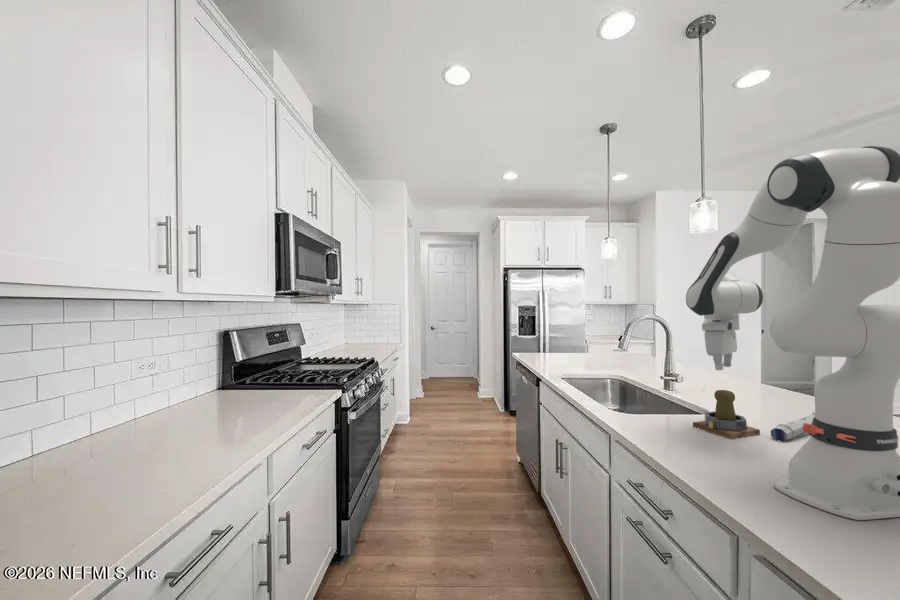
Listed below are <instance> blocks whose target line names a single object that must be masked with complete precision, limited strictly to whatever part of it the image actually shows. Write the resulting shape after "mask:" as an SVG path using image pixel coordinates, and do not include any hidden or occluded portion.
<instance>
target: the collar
mask: <svg viewBox="0 0 900 600" xmlns="http://www.w3.org/2000/svg"><path fill="white" fill-rule="evenodd" d="M715 411H716V410H715ZM715 411H709V412H708V411H707V412H704V421H705V423H706V425H707V426H709V428H712V429H714V428H715V429H719V430H725V431H734V432H739V431H745V430H747V426H748V425H747V419H746V418H745V417H744V416H743V415H739V414H736V413H735V415H736V420H734V421H733V420H724V419H718V418H715Z"/></svg>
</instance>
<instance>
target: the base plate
mask: <svg viewBox="0 0 900 600" xmlns="http://www.w3.org/2000/svg"><path fill="white" fill-rule="evenodd" d="M694 427H696V428H695V429H697V428H699V429H698V430H700V429H702V430H701V431H703V430H705V431H704V432H706V431H707V432H706V433H709V432H710V434H712V433H713V435H715V434H716V436H718V435H719V437H721V436H722V438H724V437H725V438H724V439H727V438H728V440H730V439H731V440H737V439H743V438H748V436H750V437H754V435H756V436H760V435H761V434H760V433H761V429H758V428H755V427H752V426H748V425H747V430H745V431H739V432H734V431H725V430H719V429H715V428H714V429H712V428H709V426H707V425H706V423H705V420H699V421H694V422H692V428H694ZM742 437H743V438H742ZM736 438H737V439H736Z"/></svg>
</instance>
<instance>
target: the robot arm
mask: <svg viewBox="0 0 900 600" xmlns="http://www.w3.org/2000/svg"><path fill="white" fill-rule="evenodd" d="M899 179H900V153H898V152H897V151H896V150H895V149H892V148H889V147H886V146H880V145H879V146H878V145H877V146H876V145H866V146H862V147H848V148H847V147H846V148H830V149H825V150H819V151H815V152H811V153H801V154H797V155H794V156H791V157H788V158H786V159H784V160H782V161H780V162H778V163H777V164H776V165H775V166H773V168H772V170H771V172H769V175H768V178H766V180H765V181H764V182H763V184H762V186H761V187H760V188H759V189H758V192H757V193H756V195H755V196H754V199H753V201H752V203H751V205H750V206H749V210H748V212H747V214H746V216H744V219H743V220H742V221H741V223H739V225H737V227H736V228H734V229H733V230H732V231H731V232H729V233H728V234H726V235H725V236H724V237H723V238H721V240H720V241H719V243H718V245H716V247H715V249H714V250H713V252H712V254H711V256H710V257H709V259H708V260H707V262H706V264H705V265H704V267H703V269H702V270H701V272H700V274H699V275H698V277H697V278H696V280H694V281H693V283H692V284H691V285H690V286H689V288H688V289H687V290H686V291H687V292H686V295H685V302H686V306H687V307H688V309H690V311H692V312H693V313H695V314H696V315H697V316H700V317H701V316H704V318H703V322H702V324H701V330H702V331H704V333H703V334H704V343H705V350H706V353H707V355H708V356H711V357H712V359H713V363H714V368H715V370H716V371H723V370H724V367H725V368H731V367H732V360H733V358H732V357H733V353H735V352H737V351H738V340H737V332H736V331H739V330H740V315H741V314H751V313H755V312H756V311H757V310H759V308H760V307H761V306H762V305H763V301H764V295H763V293H764V292H763V291H762V288H761V286H759V284H757V283H756V282H754V281H749V280H745V279H742V278H738V276H736V274H735V273H734V272H731V271H729V270H730V269H731V268H732V267H733V266H734V265H735V264H736V263H738V262H740V261H742V260H744V259H747V258H749V257H753V256H755V255H760V254H763V253H767V252H771V251H775V250H778V249H780V248H782V247H784V246H786V245H787V244H789V243H790V242H791V241H792V240H793V239H794V238H795V237H796V236H797V234H798V232H799V231H800V229H801V228H802V225H803V223H804V221H805V220H806V218H807V216H808V214H809V213H811V212H813V211H816V210H818V209H820V210H822V212H823V213H824V214H825V215H826V218H827V219H826V220H827V222H826V229H825V235H824V242H823V246H822V249H823V250H822V254H821V260H820V263H819V268H818V272H817V274H816V277H815V279H814V281H813V283H812V284H811V285H810V287H809V288H808V290H807V291H806V292H805V293H804V294H803V295H802V296H801V297H800V298H799V299H797V301H795V302H793V303H792V304H790V305H789V306H787V307H785V308H783V309H781V310H780V311H779V312H776V314H775V315H774V317H773V318H772V320H771V322H770V325H769V332H770V333H769V334H770V336H771V339H772V341H773V343H774V344H775V346H777V348H778V349H780V350H781V351H783V352H785V353H791V354H795V355H800V356H807V357H808V356H809V357H822V358H824V357H825V358H826V357H829V358H845V361H844V363H843V364H842V366H841V367H840V368H839V369H837V371H835V372H831V373H829V374H827V375H824V376H822V377H820V379H818V380H817V381H816V382H815V385H814V391H813V392H814V410H815V417H814V418H813V421H812V423H811V425H810V424H808V423H804V424H803V426H802V430H803V432H802V433H805V434H809V435H810V437H809V438H808V440H807V441H806V442H805V443H804V444H803V445H802V446H801V447H800V448H799V449H798V451H797V452H796V453H795V454H794V455H793V456H792V457H791V459H790V460H789V463H788V474H787V475H785V476H783V477H780V478H778V479H776V480H775V481H773V482H774V483H773V487H774V488H775V489H777V490H778V491H780V493H783V494H785V495H786V496H788V497H791V498H793V499H795V500H797V501H800V502H802V503H804V504H807V505H809V506H812V507H814V508H816V509H820V510H822V511H825V512H828V513H830V514H835V515H837V516H840V517H844V518H848V519H852V520H857V521H864V520H865V521H867V520H878V519H879V520H881V519H887V518H889V519H890V518H900V455H899V453H898V452H897V450H896V449H898V448H899V436H898V433H897V429H896V428H894V399H895V398H894V395H895V390H896V387H897V385H898V382H899V381H900V305H896V304H862V303H863V302H864V301H865V300H866V299H868V298H869V297H871V296H872V295H874V294H876V293H878V292H880V291H883V290H885V289H887V288H890V287H891V286H893V285H895V283H896V282H898V280H900V183H898V181H899Z"/></svg>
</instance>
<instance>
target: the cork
mask: <svg viewBox="0 0 900 600" xmlns="http://www.w3.org/2000/svg"><path fill="white" fill-rule="evenodd" d="M713 396H714V399H715V400H716V404H715V418H718V419H724V420H733V421H734V420H736V415H737V414H736V411H735V404H734V401H736V400H735V399H736V394H735V393H734V392H732V391H731V390H728V389H727V390H725V389H718V390H715V392H714V395H713ZM735 414H736V415H735Z"/></svg>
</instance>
